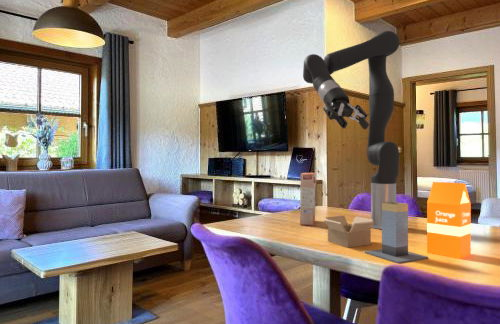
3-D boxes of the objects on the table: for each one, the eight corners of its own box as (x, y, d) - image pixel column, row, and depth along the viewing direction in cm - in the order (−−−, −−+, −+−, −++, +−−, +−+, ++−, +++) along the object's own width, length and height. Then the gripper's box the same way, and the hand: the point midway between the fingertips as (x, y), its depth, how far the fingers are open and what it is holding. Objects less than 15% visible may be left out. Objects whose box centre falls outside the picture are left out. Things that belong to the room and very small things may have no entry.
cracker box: (314, 226, 149) (314, 173, 149) (299, 225, 150) (299, 173, 150) (315, 220, 163) (315, 172, 162) (301, 220, 164) (301, 172, 164)
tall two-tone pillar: (393, 251, 106) (393, 201, 106) (408, 255, 102) (408, 203, 102) (381, 252, 104) (381, 202, 104) (395, 256, 100) (395, 204, 100)
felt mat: (393, 248, 111) (393, 247, 111) (428, 258, 100) (428, 256, 100) (364, 252, 106) (364, 251, 106) (398, 263, 95) (398, 261, 95)
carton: (350, 236, 128) (350, 214, 128) (381, 245, 115) (381, 220, 115) (318, 240, 122) (318, 217, 122) (346, 249, 109) (346, 224, 109)
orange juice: (438, 248, 111) (438, 181, 111) (471, 254, 104) (471, 182, 104) (426, 253, 106) (426, 182, 106) (460, 259, 99) (460, 183, 99)
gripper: (320, 84, 122) (343, 116, 111) (354, 88, 128) (379, 118, 117) (311, 103, 126) (332, 135, 116) (344, 106, 133) (367, 136, 122)
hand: (356, 126), depth 117 cm, fingers open, 8 cm apart
